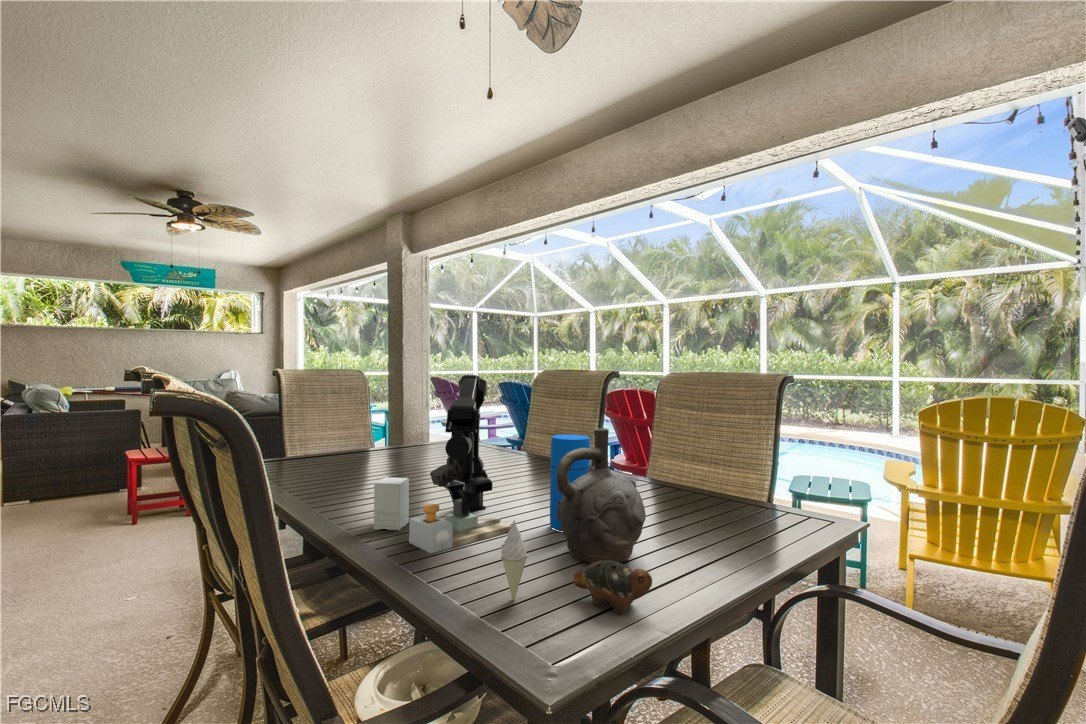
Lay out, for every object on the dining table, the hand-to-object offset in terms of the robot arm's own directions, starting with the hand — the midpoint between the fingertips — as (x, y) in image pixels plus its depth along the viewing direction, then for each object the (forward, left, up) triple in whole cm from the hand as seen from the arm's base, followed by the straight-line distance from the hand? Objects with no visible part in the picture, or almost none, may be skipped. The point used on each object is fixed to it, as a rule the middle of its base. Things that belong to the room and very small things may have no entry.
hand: (461, 513), depth 132 cm
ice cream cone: (+13, +36, -6) cm, 39 cm away
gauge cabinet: (+9, 0, -6) cm, 11 cm away
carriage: (0, 0, -3) cm, 3 cm away
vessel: (-16, +32, -6) cm, 36 cm away
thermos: (-27, +13, -6) cm, 31 cm away
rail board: (-3, 0, -6) cm, 7 cm away
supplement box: (+9, -20, -6) cm, 23 cm away
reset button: (+9, 0, 0) cm, 9 cm away
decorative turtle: (+1, +50, -6) cm, 50 cm away
